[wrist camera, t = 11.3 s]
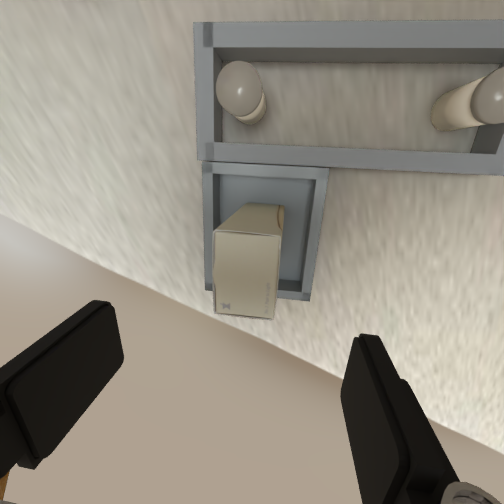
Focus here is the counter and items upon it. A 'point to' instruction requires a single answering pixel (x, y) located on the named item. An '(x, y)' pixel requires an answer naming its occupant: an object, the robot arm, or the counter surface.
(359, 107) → the counter surface
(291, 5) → the counter surface
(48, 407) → the robot arm
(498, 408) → the counter surface
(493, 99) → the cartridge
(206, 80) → the grey rectangular frame
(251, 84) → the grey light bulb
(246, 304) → the skincare box
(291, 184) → the tray
